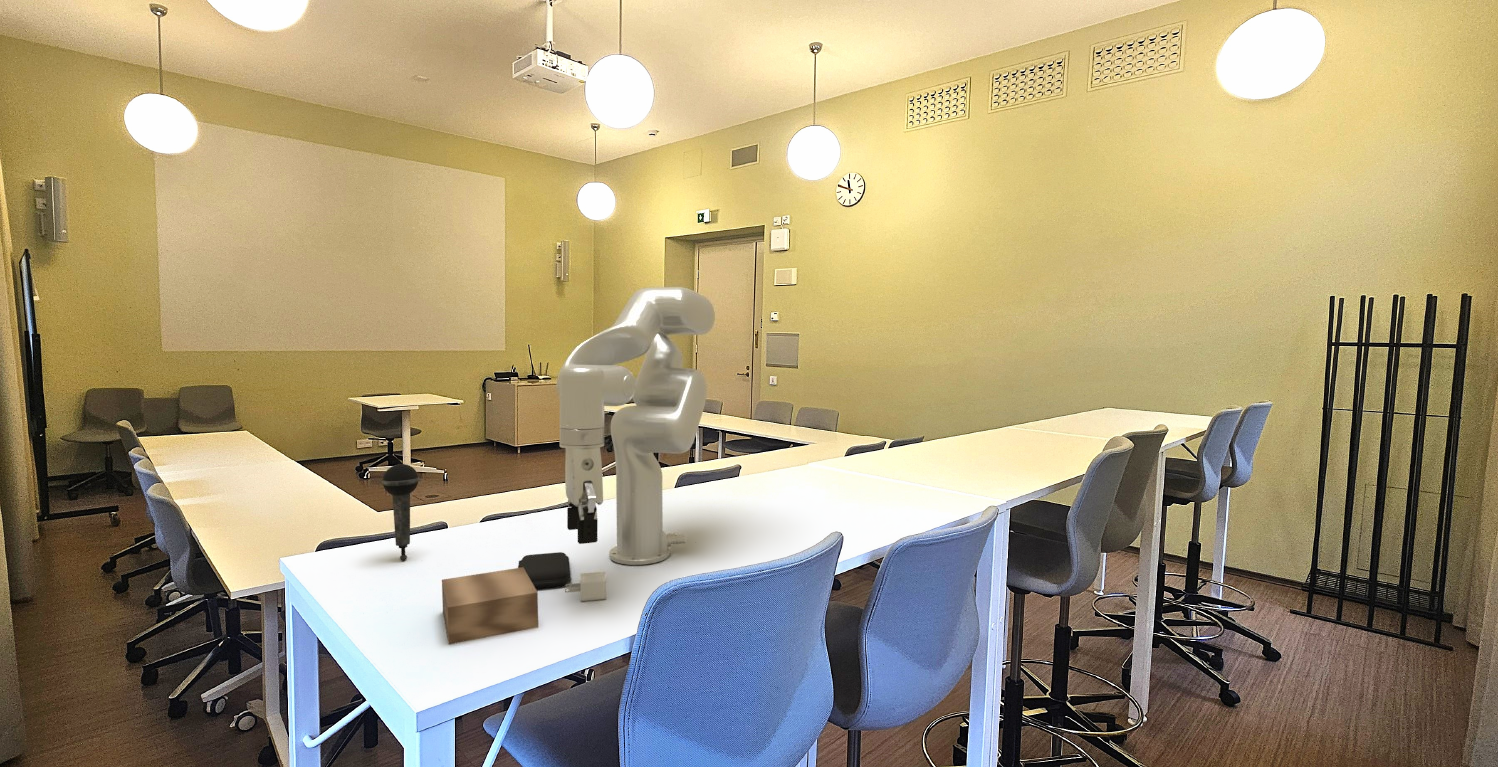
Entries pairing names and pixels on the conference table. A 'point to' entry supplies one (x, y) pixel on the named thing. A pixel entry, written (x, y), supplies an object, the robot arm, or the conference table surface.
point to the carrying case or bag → (547, 569)
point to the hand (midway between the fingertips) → (581, 535)
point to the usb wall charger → (590, 586)
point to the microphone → (401, 500)
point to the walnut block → (489, 604)
